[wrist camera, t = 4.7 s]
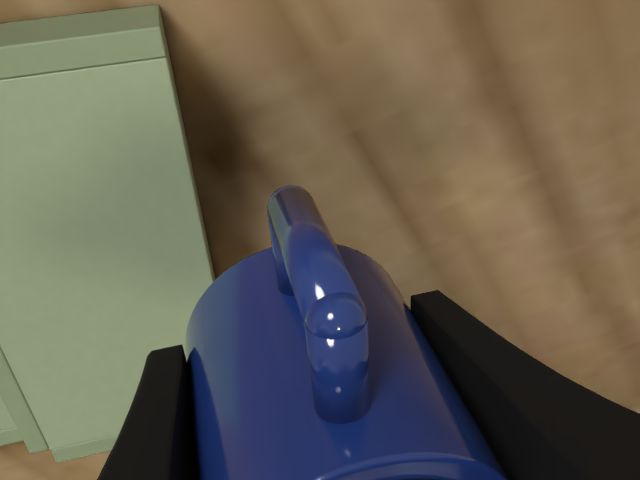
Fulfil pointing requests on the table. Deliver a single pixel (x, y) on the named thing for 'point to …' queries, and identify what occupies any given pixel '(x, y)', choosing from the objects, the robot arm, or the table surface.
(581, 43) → the table surface
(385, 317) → the jug
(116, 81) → the step rack
